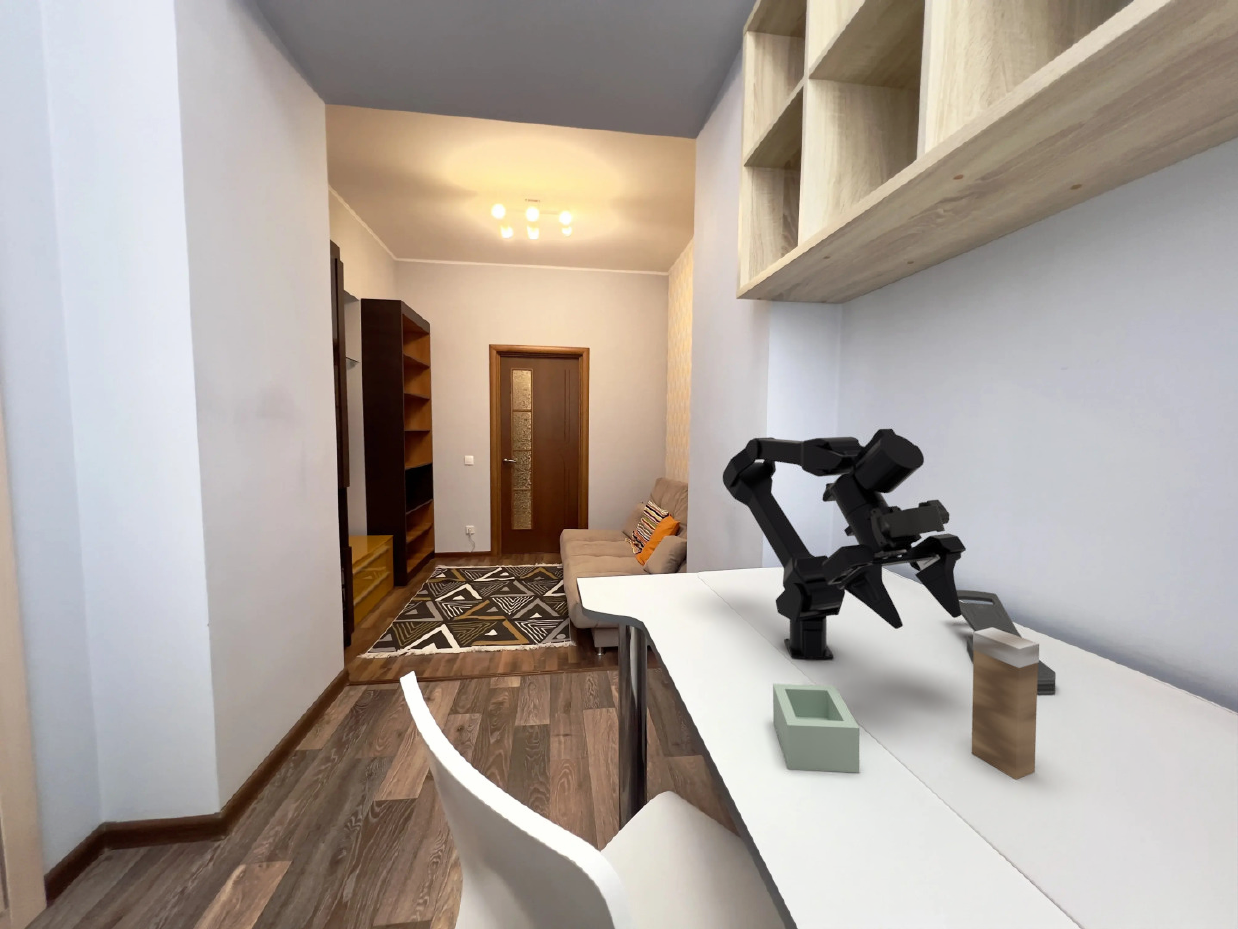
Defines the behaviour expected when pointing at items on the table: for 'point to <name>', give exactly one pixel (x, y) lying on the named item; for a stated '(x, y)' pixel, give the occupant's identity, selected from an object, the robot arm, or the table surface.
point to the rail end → (1005, 701)
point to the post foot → (815, 728)
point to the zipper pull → (999, 619)
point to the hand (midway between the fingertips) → (929, 622)
